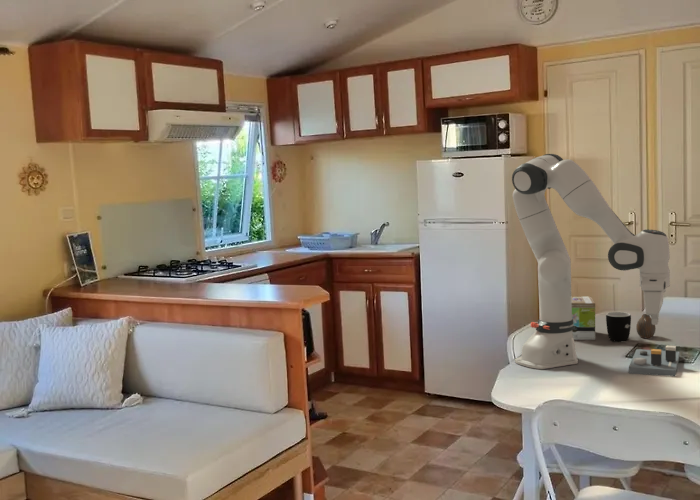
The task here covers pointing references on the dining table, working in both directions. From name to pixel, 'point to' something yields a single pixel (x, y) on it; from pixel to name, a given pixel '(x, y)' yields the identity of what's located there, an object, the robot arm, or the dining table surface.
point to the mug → (618, 326)
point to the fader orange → (656, 356)
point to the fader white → (670, 353)
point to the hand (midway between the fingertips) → (655, 323)
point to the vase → (645, 327)
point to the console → (644, 366)
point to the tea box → (583, 318)
